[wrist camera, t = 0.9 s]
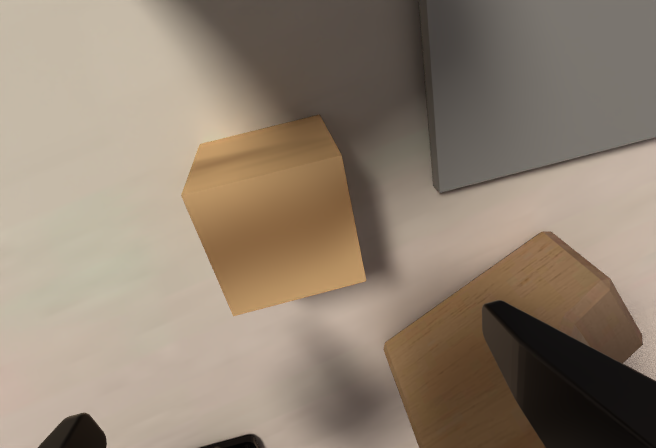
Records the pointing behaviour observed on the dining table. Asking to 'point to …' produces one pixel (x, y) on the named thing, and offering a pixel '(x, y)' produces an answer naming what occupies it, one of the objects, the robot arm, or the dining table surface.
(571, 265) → the decorative block
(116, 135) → the dining table surface
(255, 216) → the oak cube
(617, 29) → the charcoal mat
